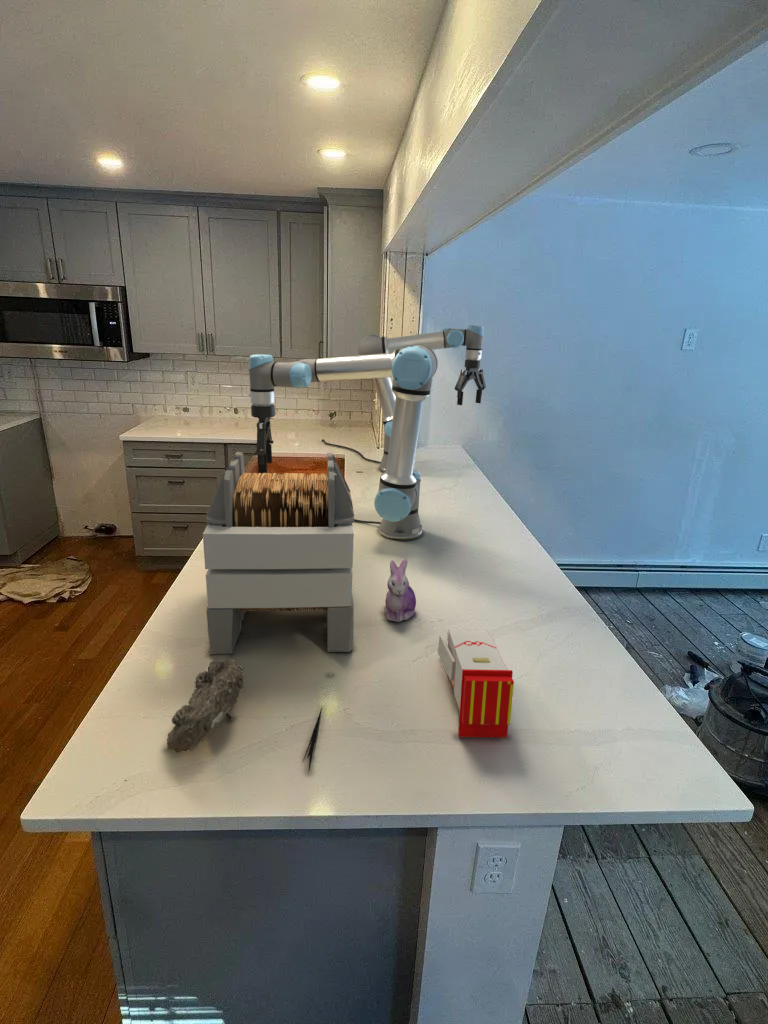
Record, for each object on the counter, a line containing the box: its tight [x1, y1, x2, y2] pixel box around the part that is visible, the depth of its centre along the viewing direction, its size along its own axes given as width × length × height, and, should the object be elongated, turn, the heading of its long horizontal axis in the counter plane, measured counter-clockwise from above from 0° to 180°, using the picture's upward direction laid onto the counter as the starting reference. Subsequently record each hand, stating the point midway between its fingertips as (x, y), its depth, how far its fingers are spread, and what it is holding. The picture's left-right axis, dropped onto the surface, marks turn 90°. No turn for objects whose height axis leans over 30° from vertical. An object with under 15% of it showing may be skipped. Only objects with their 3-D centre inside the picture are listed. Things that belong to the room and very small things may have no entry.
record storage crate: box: [202, 451, 355, 655], centre depth 137 cm, size 34×33×41 cm
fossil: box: [166, 658, 245, 754], centre depth 106 cm, size 22×10×15 cm
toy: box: [437, 628, 515, 738], centre depth 117 cm, size 12×13×30 cm
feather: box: [301, 673, 332, 771], centre depth 108 cm, size 2×28×2 cm
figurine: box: [384, 558, 417, 623], centre depth 145 cm, size 9×10×15 cm
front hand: (265, 468), depth 190 cm, fingers open, 13 cm apart
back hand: (468, 404), depth 278 cm, fingers open, 13 cm apart
